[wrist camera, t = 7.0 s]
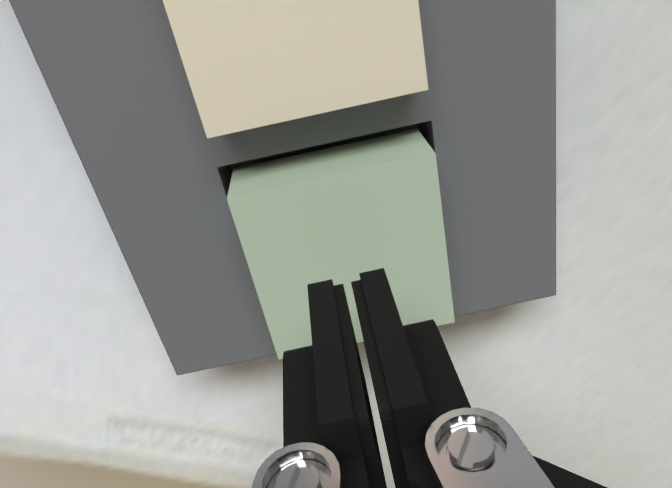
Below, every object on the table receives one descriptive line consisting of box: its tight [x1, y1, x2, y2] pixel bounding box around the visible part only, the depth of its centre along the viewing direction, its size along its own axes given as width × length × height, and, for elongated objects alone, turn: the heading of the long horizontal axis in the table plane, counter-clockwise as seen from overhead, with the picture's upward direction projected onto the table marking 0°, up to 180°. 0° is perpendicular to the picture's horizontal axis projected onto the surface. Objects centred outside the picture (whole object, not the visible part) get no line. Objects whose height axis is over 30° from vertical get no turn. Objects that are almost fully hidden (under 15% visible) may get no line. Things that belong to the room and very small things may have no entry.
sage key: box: [227, 129, 455, 360], centre depth 15 cm, size 5×5×2 cm
